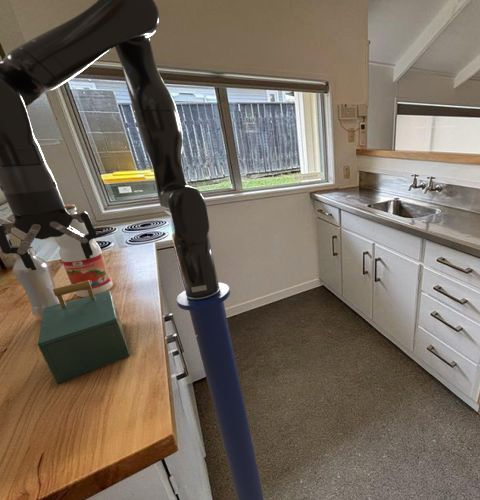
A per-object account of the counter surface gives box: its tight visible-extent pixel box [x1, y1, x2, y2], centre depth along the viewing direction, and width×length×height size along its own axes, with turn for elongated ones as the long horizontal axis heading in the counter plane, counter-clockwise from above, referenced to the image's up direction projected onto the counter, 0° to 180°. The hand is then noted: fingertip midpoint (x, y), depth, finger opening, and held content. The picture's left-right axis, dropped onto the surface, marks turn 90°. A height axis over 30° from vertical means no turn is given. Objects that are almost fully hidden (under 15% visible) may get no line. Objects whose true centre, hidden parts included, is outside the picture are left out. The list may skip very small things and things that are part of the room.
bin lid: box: [37, 280, 117, 348], centre depth 61 cm, size 16×12×5 cm
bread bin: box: [38, 295, 130, 385], centre depth 63 cm, size 16×12×9 cm
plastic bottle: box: [12, 246, 66, 321], centre depth 74 cm, size 6×7×20 cm
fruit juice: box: [52, 203, 114, 298], centre depth 87 cm, size 9×9×28 cm
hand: (62, 263), depth 62 cm, fingers open, 8 cm apart
